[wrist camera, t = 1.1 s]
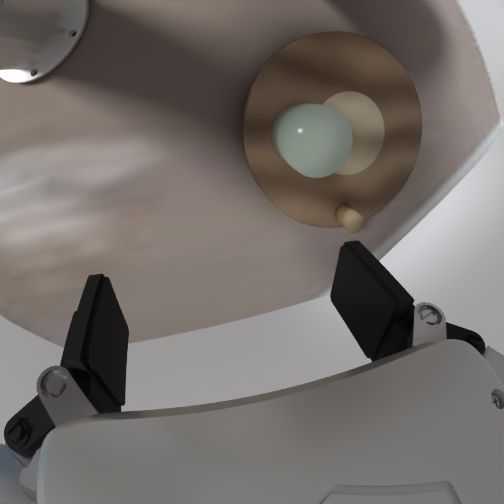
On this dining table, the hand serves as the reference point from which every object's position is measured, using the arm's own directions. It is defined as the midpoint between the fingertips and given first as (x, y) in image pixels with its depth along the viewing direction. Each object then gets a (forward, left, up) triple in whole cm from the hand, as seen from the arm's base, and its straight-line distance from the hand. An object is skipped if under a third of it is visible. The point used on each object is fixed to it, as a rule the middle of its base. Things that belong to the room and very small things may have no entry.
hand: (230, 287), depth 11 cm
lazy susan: (-2, +17, -20) cm, 26 cm away
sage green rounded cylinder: (-2, +11, -19) cm, 22 cm away
